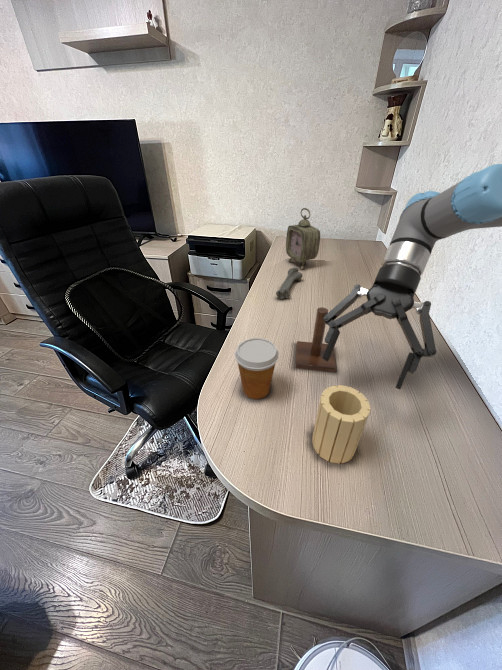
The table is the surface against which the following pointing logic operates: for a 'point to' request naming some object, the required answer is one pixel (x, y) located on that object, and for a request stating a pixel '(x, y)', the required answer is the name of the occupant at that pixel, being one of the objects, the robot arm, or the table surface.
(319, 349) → the spindle stand
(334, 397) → the wooden stave sleeve
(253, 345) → the disposable coffee cup
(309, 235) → the tabletop clock
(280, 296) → the bone
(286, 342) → the table surface
